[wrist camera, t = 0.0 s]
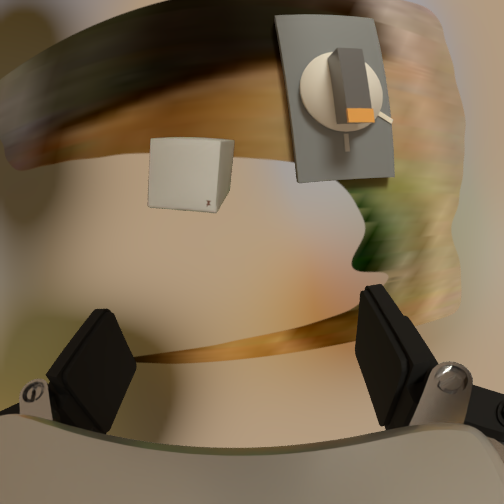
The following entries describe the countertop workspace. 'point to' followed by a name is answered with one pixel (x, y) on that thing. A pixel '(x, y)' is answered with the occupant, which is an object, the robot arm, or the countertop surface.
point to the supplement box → (189, 173)
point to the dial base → (313, 133)
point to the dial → (341, 90)
